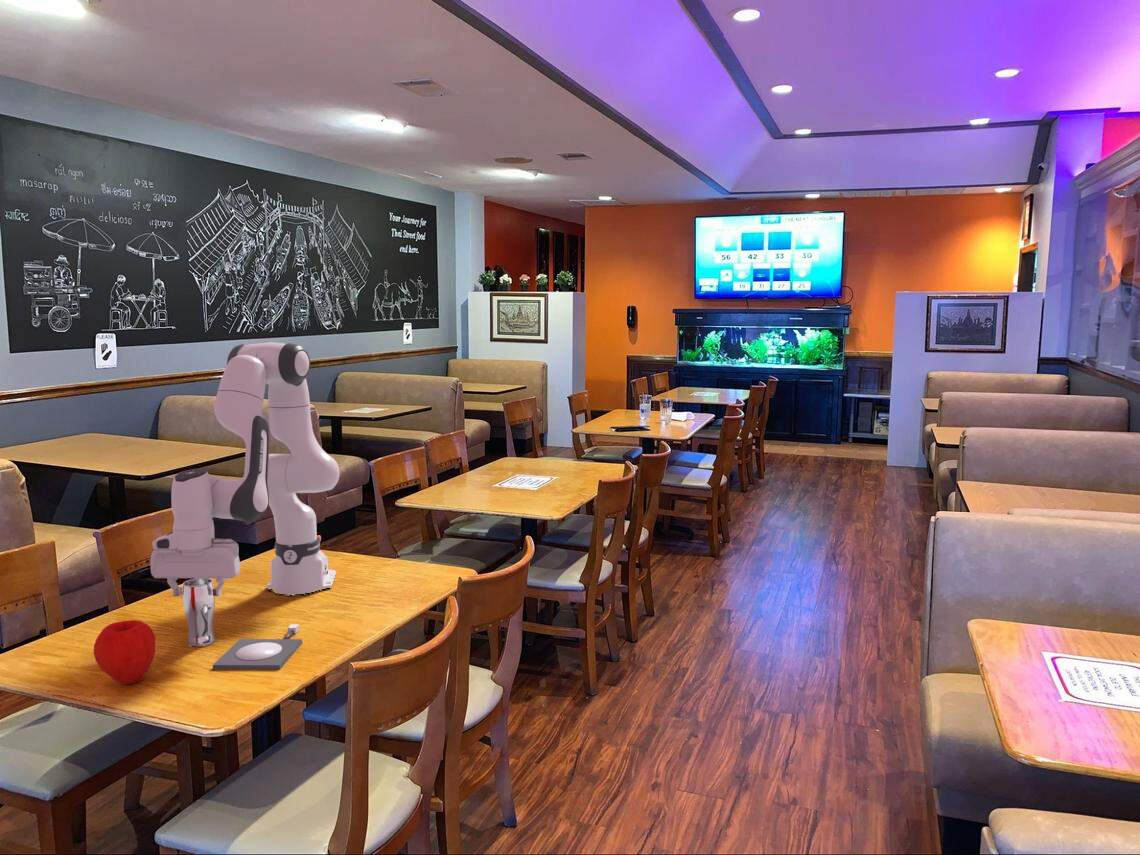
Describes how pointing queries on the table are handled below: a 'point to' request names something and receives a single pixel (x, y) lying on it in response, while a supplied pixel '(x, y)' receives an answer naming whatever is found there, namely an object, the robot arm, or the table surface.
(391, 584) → the table surface
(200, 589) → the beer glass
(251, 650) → the charging dock
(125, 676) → the apple
